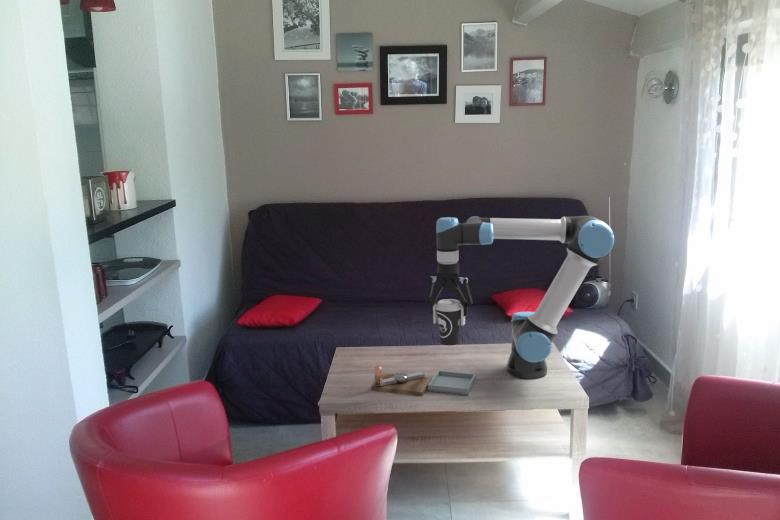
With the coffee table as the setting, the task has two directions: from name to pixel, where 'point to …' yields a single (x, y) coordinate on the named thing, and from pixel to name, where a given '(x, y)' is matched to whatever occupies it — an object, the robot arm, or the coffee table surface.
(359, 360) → the coffee table surface
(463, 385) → the tray
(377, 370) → the crank
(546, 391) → the coffee table surface
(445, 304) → the coffee cup
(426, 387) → the crank base
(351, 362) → the coffee table surface
